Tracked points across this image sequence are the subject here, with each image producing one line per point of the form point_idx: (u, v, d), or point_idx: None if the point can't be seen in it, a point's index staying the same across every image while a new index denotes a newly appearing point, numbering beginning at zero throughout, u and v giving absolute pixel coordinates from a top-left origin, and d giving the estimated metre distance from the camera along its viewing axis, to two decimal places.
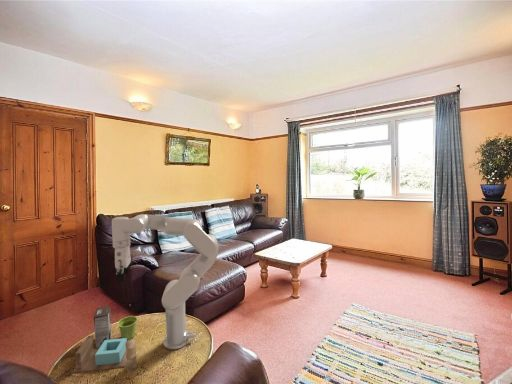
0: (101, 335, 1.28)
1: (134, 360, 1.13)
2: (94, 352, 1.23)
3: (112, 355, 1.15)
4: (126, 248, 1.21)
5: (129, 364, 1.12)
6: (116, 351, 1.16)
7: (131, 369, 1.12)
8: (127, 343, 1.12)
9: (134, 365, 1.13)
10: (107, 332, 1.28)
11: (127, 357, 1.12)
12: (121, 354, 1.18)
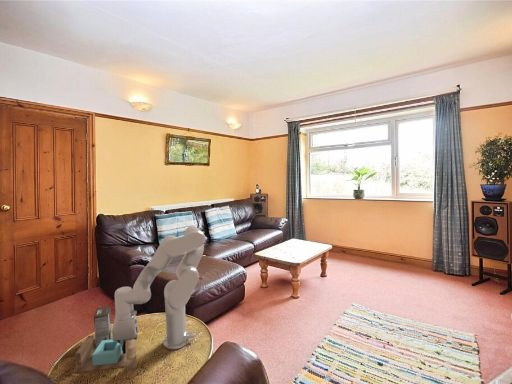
0: (101, 335, 1.28)
1: (134, 360, 1.13)
2: None
3: (109, 355, 1.15)
4: None
5: (129, 364, 1.12)
6: (113, 351, 1.16)
7: (131, 369, 1.12)
8: (127, 343, 1.12)
9: (134, 365, 1.13)
10: (107, 332, 1.28)
11: (127, 357, 1.12)
12: (118, 354, 1.18)
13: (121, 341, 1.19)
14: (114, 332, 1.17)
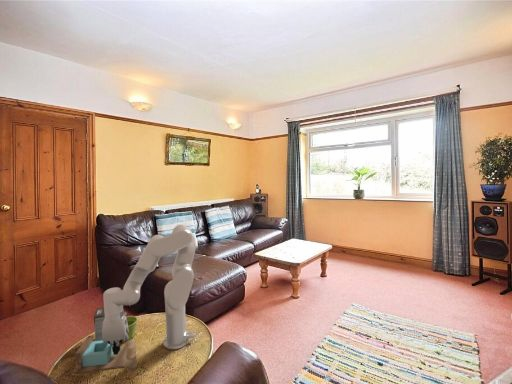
0: (101, 335, 1.28)
1: (134, 360, 1.13)
2: None
3: (99, 356, 1.14)
4: None
5: (129, 364, 1.12)
6: (103, 352, 1.15)
7: (131, 369, 1.12)
8: (127, 343, 1.12)
9: (134, 365, 1.13)
10: None
11: (127, 357, 1.12)
12: (108, 355, 1.17)
13: (111, 342, 1.18)
14: (104, 333, 1.16)
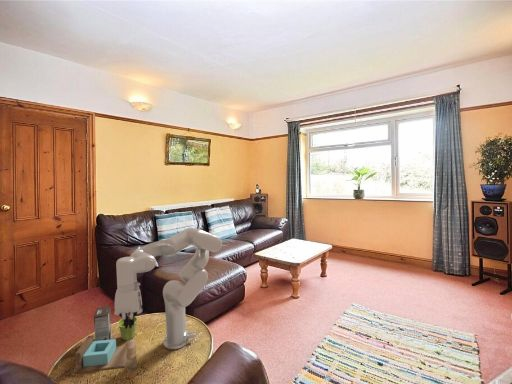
0: (101, 335, 1.28)
1: (134, 360, 1.13)
2: None
3: (100, 356, 1.14)
4: None
5: (129, 364, 1.12)
6: (104, 352, 1.15)
7: (131, 369, 1.12)
8: (127, 343, 1.12)
9: (134, 365, 1.13)
10: (107, 332, 1.28)
11: (127, 357, 1.12)
12: (109, 355, 1.17)
13: (123, 315, 1.11)
14: (116, 304, 1.09)
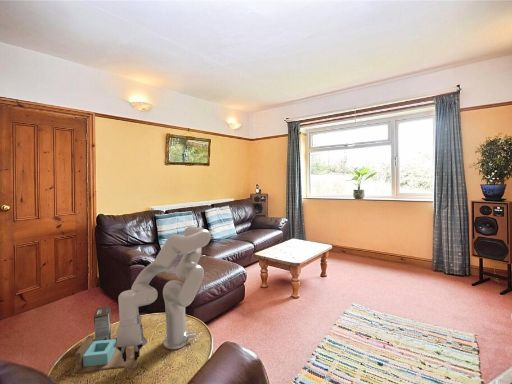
0: (101, 335, 1.28)
1: (134, 360, 1.13)
2: None
3: (100, 356, 1.14)
4: None
5: (129, 364, 1.12)
6: (104, 352, 1.15)
7: (131, 369, 1.12)
8: None
9: (134, 365, 1.13)
10: (107, 332, 1.28)
11: (127, 357, 1.12)
12: (109, 355, 1.17)
13: (123, 348, 1.11)
14: (118, 339, 1.10)
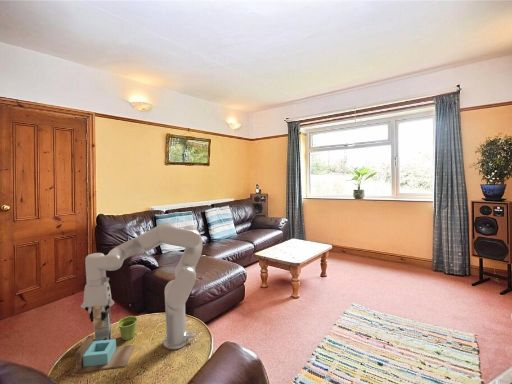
0: (101, 335, 1.28)
1: (101, 320, 1.17)
2: None
3: (100, 356, 1.14)
4: None
5: (96, 323, 1.16)
6: (104, 352, 1.15)
7: (98, 329, 1.16)
8: None
9: (101, 325, 1.17)
10: (107, 332, 1.28)
11: (94, 317, 1.16)
12: (109, 355, 1.17)
13: (90, 308, 1.15)
14: (85, 298, 1.14)
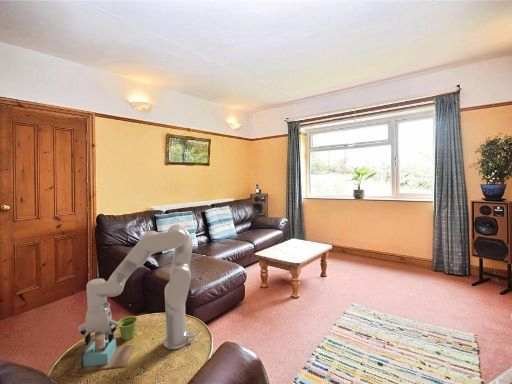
0: None
1: (103, 350, 1.18)
2: None
3: (100, 356, 1.14)
4: None
5: None
6: (104, 352, 1.15)
7: None
8: (96, 334, 1.17)
9: None
10: (107, 332, 1.28)
11: (96, 347, 1.17)
12: (109, 355, 1.17)
13: (87, 333, 1.16)
14: (87, 324, 1.15)
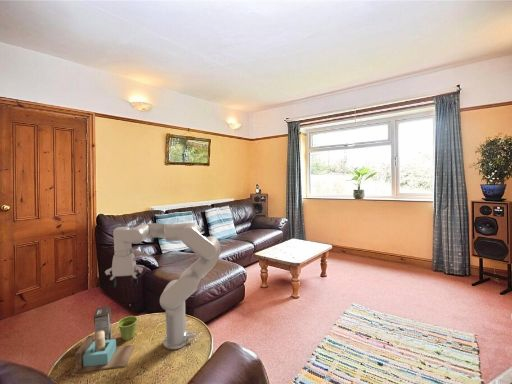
0: None
1: (103, 350, 1.18)
2: None
3: (100, 356, 1.14)
4: None
5: None
6: (104, 352, 1.15)
7: None
8: (96, 334, 1.17)
9: None
10: (107, 332, 1.28)
11: (96, 347, 1.17)
12: (109, 355, 1.17)
13: (113, 276, 1.25)
14: (113, 268, 1.24)
